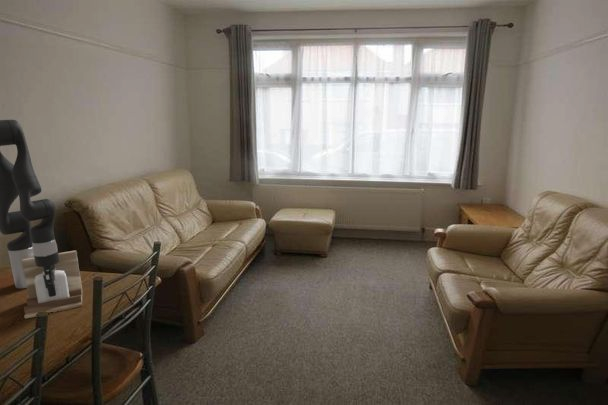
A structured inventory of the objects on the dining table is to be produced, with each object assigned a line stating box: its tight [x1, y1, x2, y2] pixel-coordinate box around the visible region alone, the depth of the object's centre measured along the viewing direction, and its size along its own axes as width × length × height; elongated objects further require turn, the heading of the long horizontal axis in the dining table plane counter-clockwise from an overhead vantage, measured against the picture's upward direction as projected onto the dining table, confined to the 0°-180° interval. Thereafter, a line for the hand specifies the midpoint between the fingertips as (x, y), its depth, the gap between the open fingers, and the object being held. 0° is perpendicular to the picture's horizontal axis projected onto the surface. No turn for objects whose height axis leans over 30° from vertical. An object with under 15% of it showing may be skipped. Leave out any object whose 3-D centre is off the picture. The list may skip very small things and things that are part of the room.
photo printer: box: [35, 270, 70, 303], centre depth 142 cm, size 10×4×12 cm, turn 123°
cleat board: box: [22, 250, 83, 319], centre depth 143 cm, size 16×18×18 cm
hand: (53, 293), depth 142 cm, fingers closed on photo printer, 4 cm apart
